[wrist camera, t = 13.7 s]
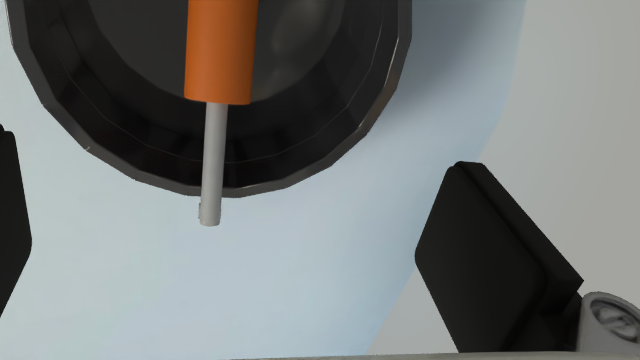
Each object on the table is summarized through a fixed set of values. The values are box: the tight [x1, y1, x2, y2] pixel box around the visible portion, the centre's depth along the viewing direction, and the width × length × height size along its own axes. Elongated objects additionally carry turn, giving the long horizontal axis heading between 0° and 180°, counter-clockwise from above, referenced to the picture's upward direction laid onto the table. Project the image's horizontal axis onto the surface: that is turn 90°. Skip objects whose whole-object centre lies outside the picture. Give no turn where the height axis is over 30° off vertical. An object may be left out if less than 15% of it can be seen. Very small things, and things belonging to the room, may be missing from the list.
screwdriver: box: [184, 0, 259, 226], centre depth 20 cm, size 3×12×3 cm, turn 169°
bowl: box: [5, 0, 412, 198], centre depth 20 cm, size 15×15×5 cm
